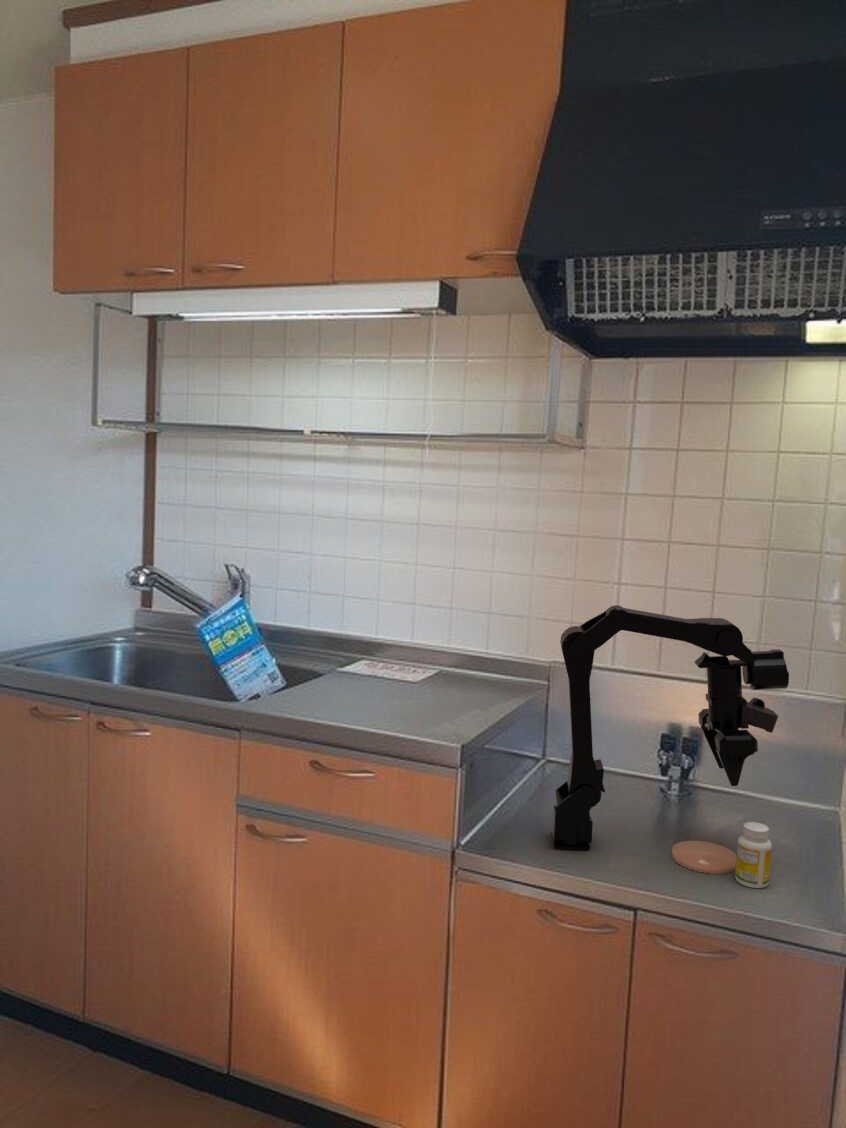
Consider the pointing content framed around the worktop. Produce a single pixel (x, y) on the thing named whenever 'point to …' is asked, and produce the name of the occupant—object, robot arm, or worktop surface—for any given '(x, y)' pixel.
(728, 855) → the saucer
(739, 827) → the worktop surface
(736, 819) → the worktop surface
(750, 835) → the supplement bottle
